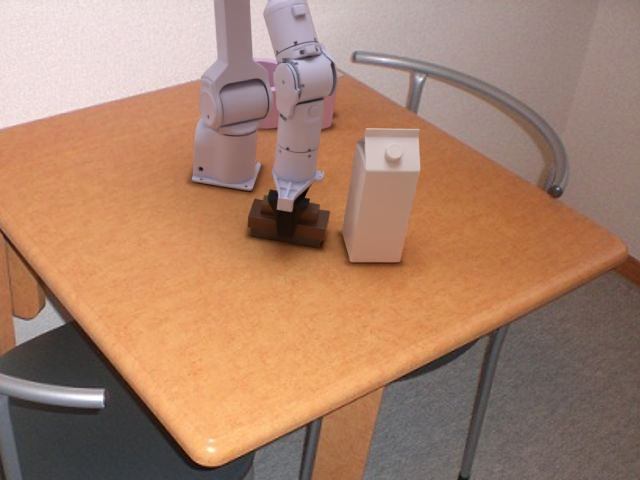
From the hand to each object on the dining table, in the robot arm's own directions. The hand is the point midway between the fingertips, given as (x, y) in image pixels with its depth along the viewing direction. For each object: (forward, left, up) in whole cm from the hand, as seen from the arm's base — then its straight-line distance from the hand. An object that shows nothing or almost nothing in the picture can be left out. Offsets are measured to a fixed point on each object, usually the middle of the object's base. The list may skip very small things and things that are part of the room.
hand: (288, 225), depth 126 cm
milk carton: (+12, 0, -2) cm, 12 cm away
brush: (0, 0, -1) cm, 1 cm away
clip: (-8, +35, -2) cm, 36 cm away
